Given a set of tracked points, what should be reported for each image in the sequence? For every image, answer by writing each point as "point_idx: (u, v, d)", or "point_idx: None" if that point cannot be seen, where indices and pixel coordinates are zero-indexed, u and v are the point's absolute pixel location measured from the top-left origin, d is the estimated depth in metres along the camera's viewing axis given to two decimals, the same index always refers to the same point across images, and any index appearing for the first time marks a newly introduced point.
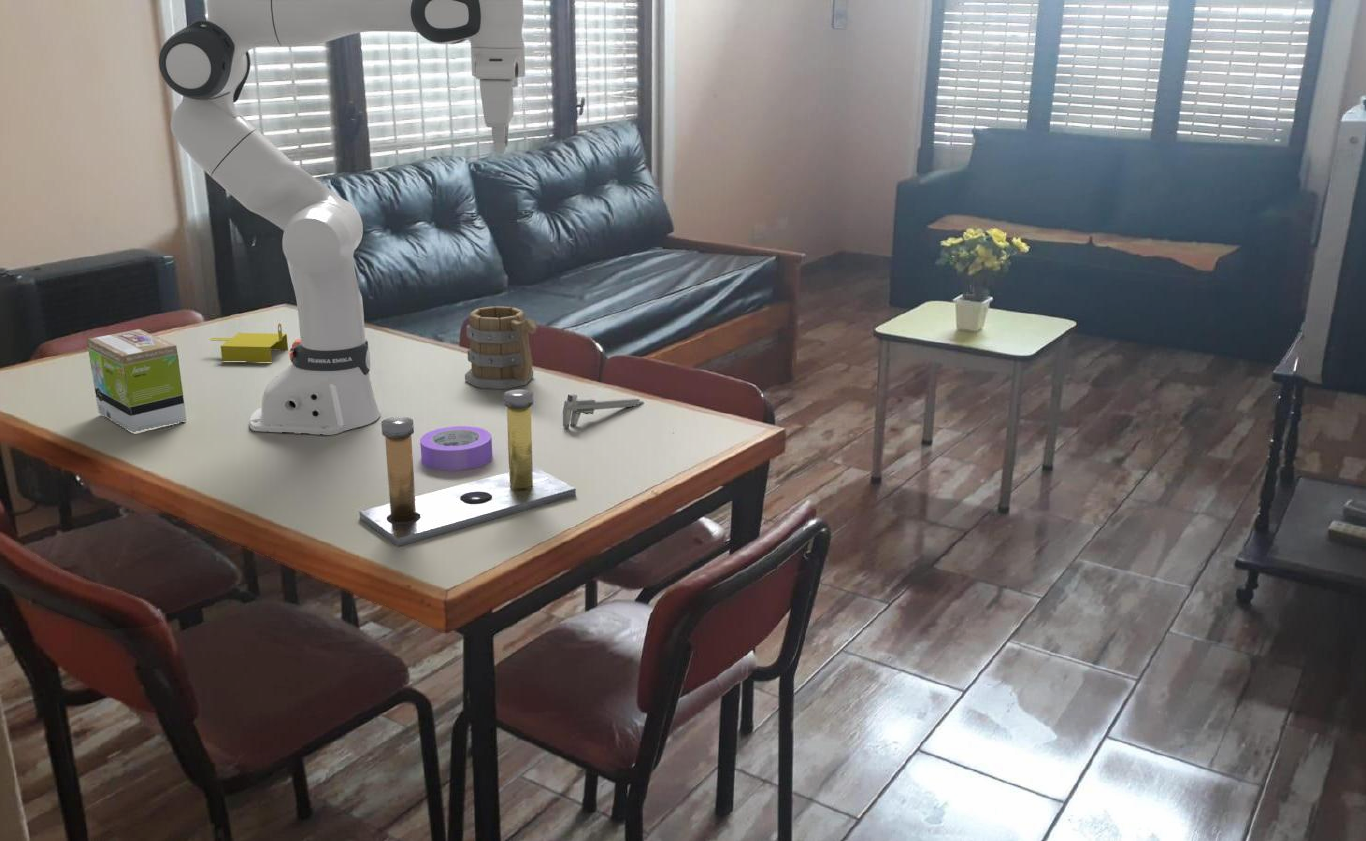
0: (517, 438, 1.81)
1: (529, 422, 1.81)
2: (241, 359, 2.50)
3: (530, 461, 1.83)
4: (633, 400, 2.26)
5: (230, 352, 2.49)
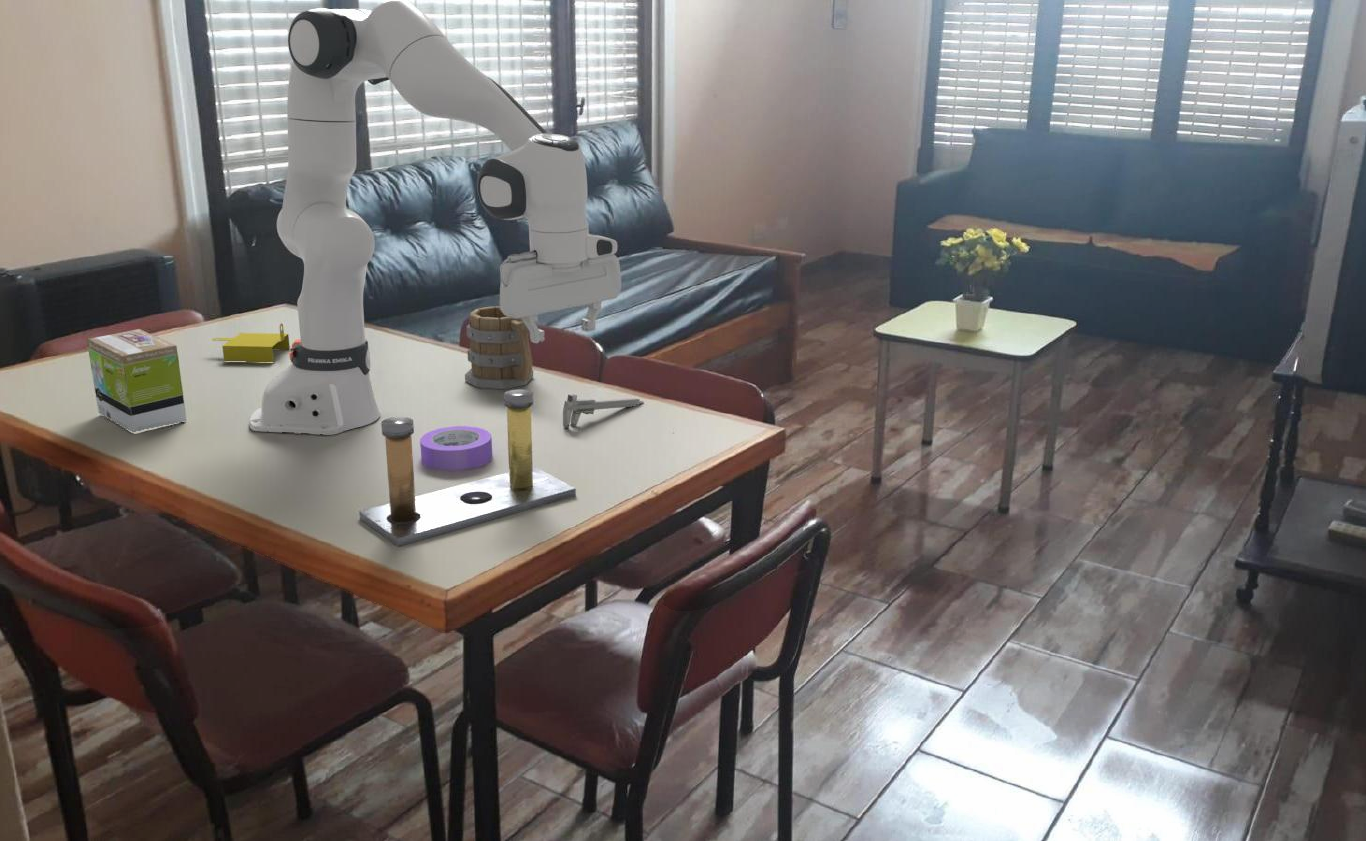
0: (517, 438, 1.81)
1: (529, 422, 1.81)
2: (243, 359, 2.50)
3: (530, 461, 1.83)
4: (633, 400, 2.26)
5: (232, 352, 2.49)
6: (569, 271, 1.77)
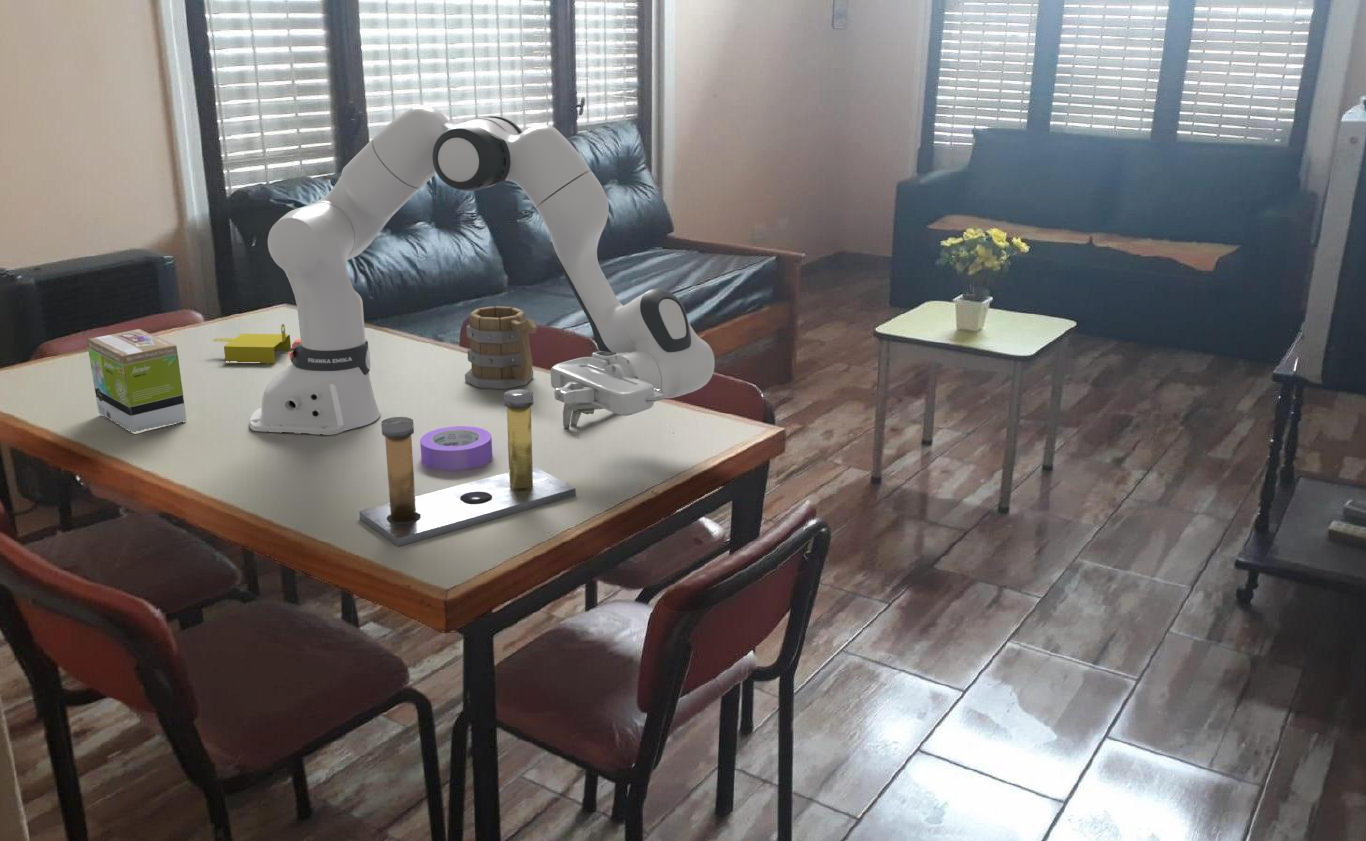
0: (517, 438, 1.81)
1: (529, 422, 1.81)
2: (244, 359, 2.49)
3: (530, 461, 1.83)
4: None
5: (233, 353, 2.49)
6: None
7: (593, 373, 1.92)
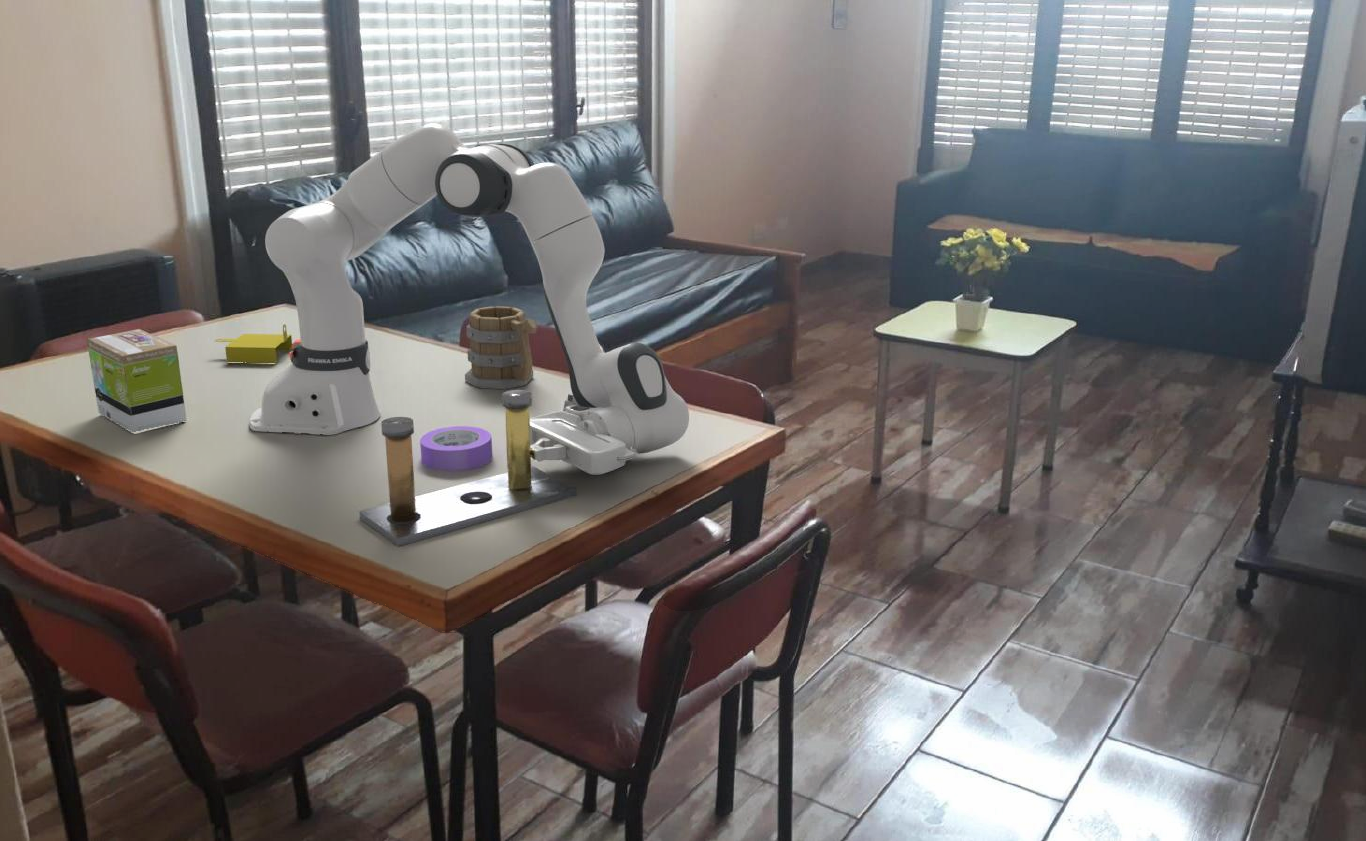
0: (515, 438, 1.81)
1: (528, 422, 1.81)
2: (246, 360, 2.49)
3: (528, 461, 1.83)
4: None
5: (235, 353, 2.49)
6: None
7: (565, 429, 1.90)
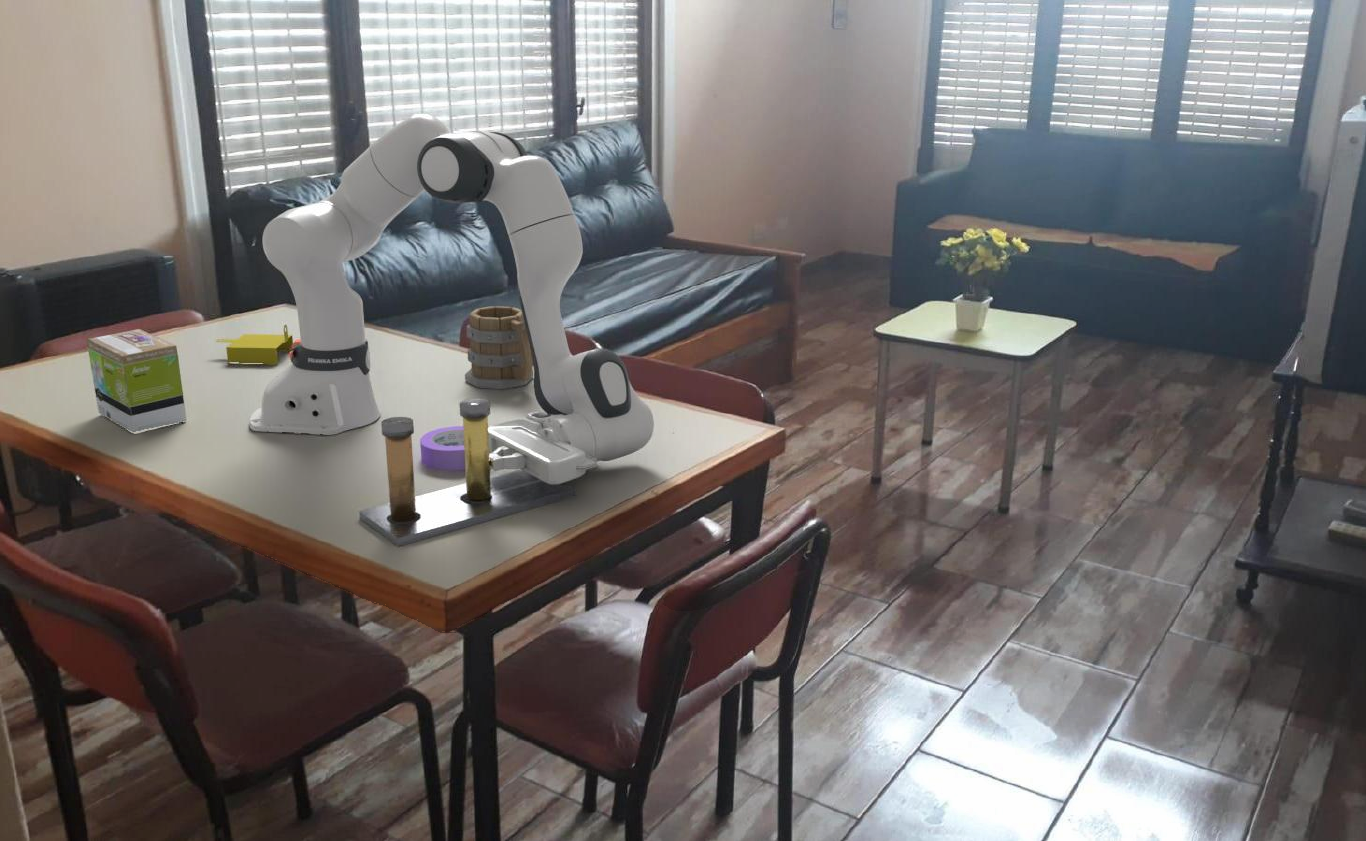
0: (473, 449, 1.77)
1: (486, 432, 1.77)
2: (247, 360, 2.49)
3: (487, 472, 1.79)
4: None
5: (236, 354, 2.48)
6: None
7: (525, 437, 1.86)
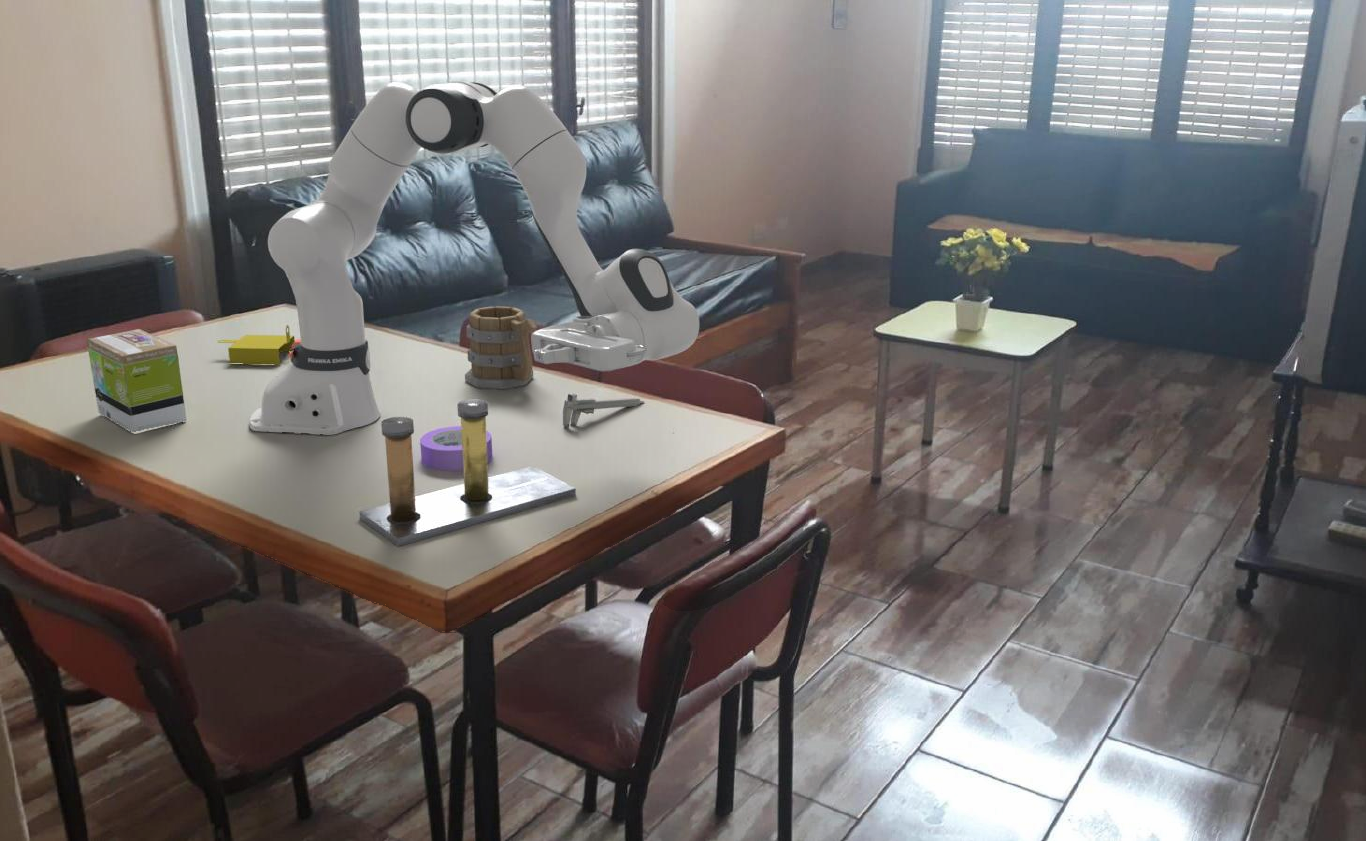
0: (471, 449, 1.76)
1: (484, 433, 1.77)
2: (249, 361, 2.48)
3: (485, 473, 1.79)
4: (633, 400, 2.27)
5: (238, 354, 2.48)
6: None
7: (573, 335, 1.87)
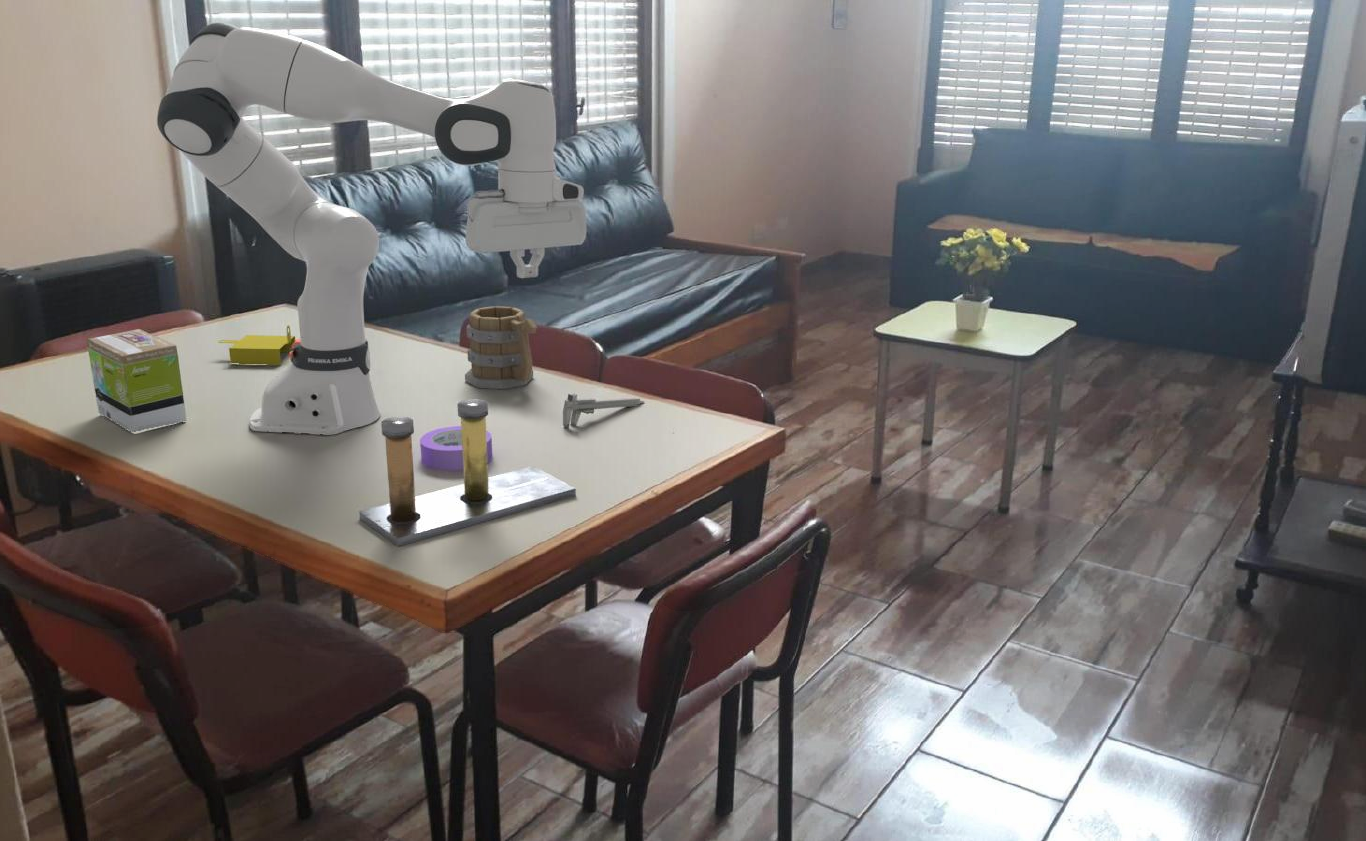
0: (471, 449, 1.76)
1: (484, 433, 1.77)
2: (250, 361, 2.48)
3: (485, 473, 1.79)
4: (634, 400, 2.27)
5: (239, 355, 2.48)
6: (535, 211, 1.83)
7: None
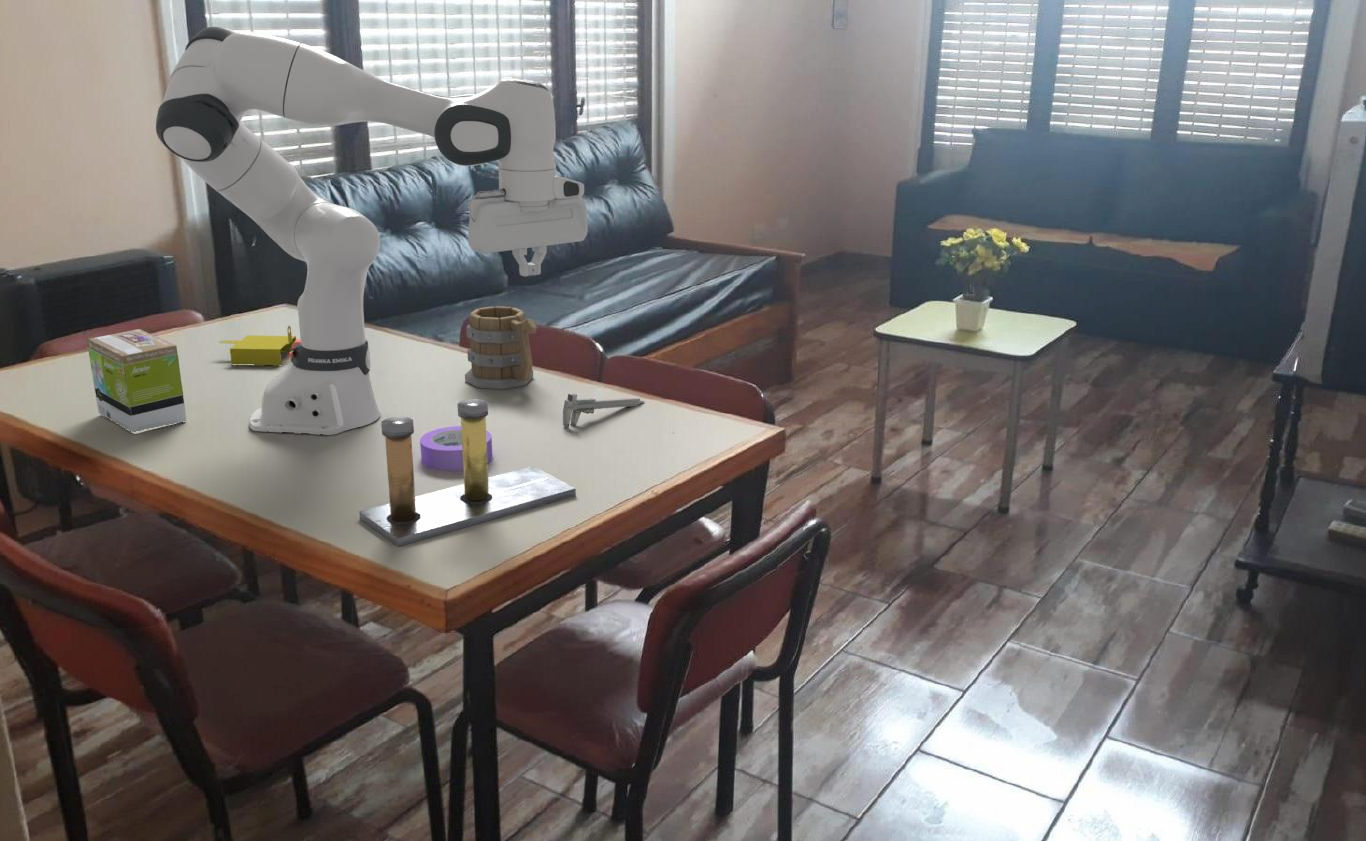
0: (471, 449, 1.76)
1: (484, 433, 1.77)
2: (251, 362, 2.48)
3: (485, 473, 1.79)
4: (634, 400, 2.27)
5: (239, 355, 2.48)
6: (536, 210, 1.84)
7: None
